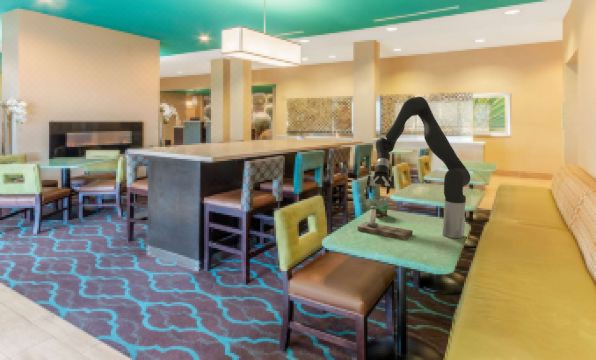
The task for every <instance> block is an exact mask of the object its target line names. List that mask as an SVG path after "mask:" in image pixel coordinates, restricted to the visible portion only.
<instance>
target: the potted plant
mask: <svg viewBox="0 0 596 360" xmlns="http://www.w3.org/2000/svg"><path fill="white" fill-rule="evenodd" d="M373 204H374V206H376V207H377V209H376V216H378V217H377V218H384V216H385V217H387V216H388V208H389V204H390V199H389V198H388V197H387V196H382V198H379V199H374V201H373Z"/></svg>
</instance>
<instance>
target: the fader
mask: <svg viewBox="0 0 596 360" xmlns="http://www.w3.org/2000/svg"><path fill="white" fill-rule="evenodd" d="M369 208H370V216H369V218H370V219H369V223H368V224H367V226H371V227H376V226H377V225H378V224H379V223H378V222H376V218H377V217H376V209H377V207H376V206H375V205H370V207H369Z"/></svg>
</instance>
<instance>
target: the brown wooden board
mask: <svg viewBox="0 0 596 360" xmlns="http://www.w3.org/2000/svg"><path fill="white" fill-rule="evenodd" d="M368 223H370V221H369V222H367V221H365V222H364V223H362V224H359V225H357V231H358V232H359V231H360V232H363V233H369V234H374V235H378V236H379V235H380V236H384V237H390V238H393V239H394V238H395V239H399V240H404V241H405V240H408V239H409V238H410V237H412V235H413V233H414V232H413V230H411V229H405V228H401V227H400V228H399V227H396V226H391V225H384V224H379V223H378V225H377V226H376V227H371V226H367V224H368Z"/></svg>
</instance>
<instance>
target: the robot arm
mask: <svg viewBox="0 0 596 360" xmlns="http://www.w3.org/2000/svg"><path fill="white" fill-rule="evenodd" d="M415 116H418V117H419V119H420V120H421V122H422V125H423V137H424V140H425V141H424V142H426V145H427V146H428V148H429V150H430V151H431V152H432V153H433V155H435V156H436V157H437V158H438V159H439V160H440V161H441V162H443V164H444V165H445V167H446V169H448V170H447V171H446V173H445V175H444V178H443V179H444V180H443V195H444V210H443V221H442V222H443V223H442V236H444V237H447V238H449V239H463V237H464V236H465V226H466V216H465V213H466V202H467V200H466V199H467V197H466V195H465V194H464V192H463V191H464V187H466V186H468V185H469V183H470V182H471V173H470V171H469V170H468V169H467V168H466V166H465V165H464V163H463V162H462V160H461V159H460V158H459V157H458V155H457V154H456V152H455V150H454V149H453V146H452V145H451V143H450V142H449V139H448V138H447V136H446V134H445V133H444V131H443V129H441V127H440V125H439V123H438V122H437V119H436V118H435V116H434V114H433V111H432V109H431V107H430V105H429V103H428V101H427V100H426V98H424V97H423V96H414V97H409V98H407V99H406V100H405V101H404V102H403V104H402V106H401V109H400V110H399V112H398V114H397V117H396V118H395V120H394V121H393V123H392V125H391V126H390V128H389V129H388V130H387V132H386V133H385V137H382V136H381V137H378V138H377V140H376V142H375V150H376V162H375V165H374V166H375V168H374V173H373V174H374V175H373V176H371V175H370V174H369V175H367V180H366V187H368V192H369V193H370V194H373V188H374V187H375V186H376V185H381V186H383V185H384V186H385V187H386V193H385V194H386V195H389V194H390V193H391V192H390V191H391V188H395V178H394V176H389V175H390V174H389V173H390V172H389V171H390V159H391V155H390V153H391V152H393V151H394V149H395V146H396V143H397V141H398V139H399V138H400V137H401V136H402V134H403V133H404V130H405V125H406V123H407V121H409V119H410V118H411V117H415ZM371 181H372V182H371ZM388 181H390V183H389V182H388Z"/></svg>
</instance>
